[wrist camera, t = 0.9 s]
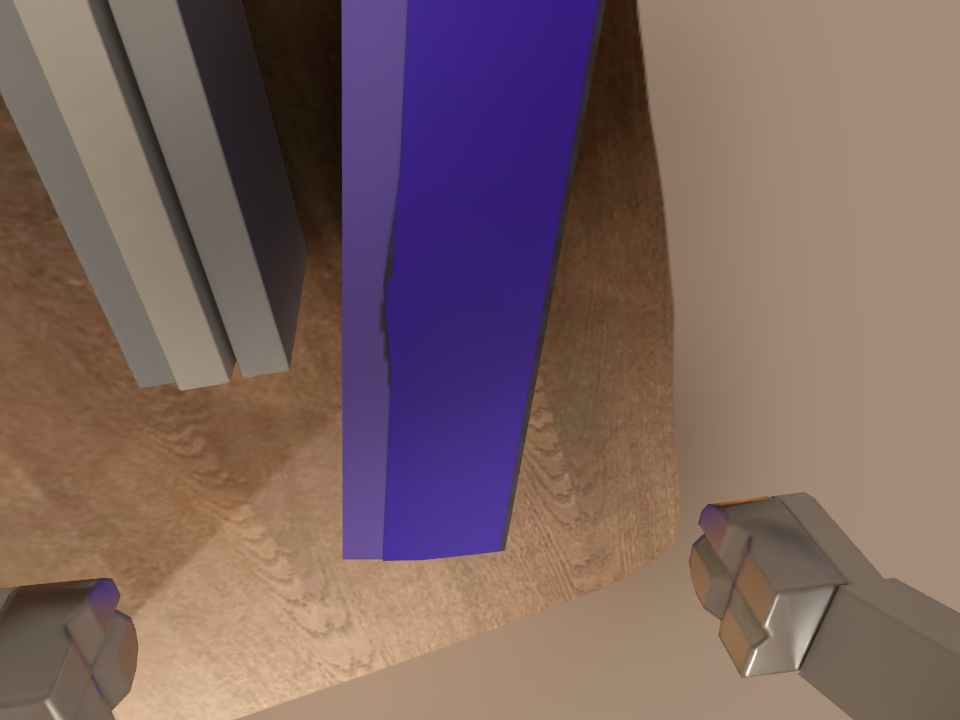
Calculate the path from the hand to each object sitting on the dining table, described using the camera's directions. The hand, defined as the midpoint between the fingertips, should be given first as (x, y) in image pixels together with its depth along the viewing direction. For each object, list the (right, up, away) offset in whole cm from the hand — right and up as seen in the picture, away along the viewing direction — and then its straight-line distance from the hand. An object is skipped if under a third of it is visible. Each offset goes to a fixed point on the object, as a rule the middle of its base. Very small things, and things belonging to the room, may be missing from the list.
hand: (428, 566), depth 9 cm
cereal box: (-4, +17, +25) cm, 31 cm away
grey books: (-13, +15, +24) cm, 32 cm away
